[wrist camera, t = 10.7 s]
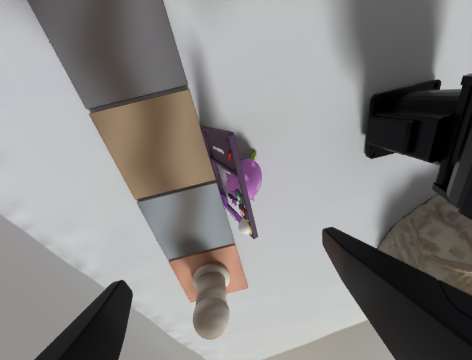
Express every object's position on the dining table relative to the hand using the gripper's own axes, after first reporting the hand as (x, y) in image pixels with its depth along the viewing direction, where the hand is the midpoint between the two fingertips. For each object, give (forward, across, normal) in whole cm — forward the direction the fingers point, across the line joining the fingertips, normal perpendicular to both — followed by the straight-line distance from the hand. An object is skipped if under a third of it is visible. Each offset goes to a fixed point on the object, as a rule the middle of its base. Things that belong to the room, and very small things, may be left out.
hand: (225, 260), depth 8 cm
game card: (+12, -2, 0) cm, 12 cm away
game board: (+12, +5, +1) cm, 13 cm away
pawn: (+12, +5, +15) cm, 19 cm away
